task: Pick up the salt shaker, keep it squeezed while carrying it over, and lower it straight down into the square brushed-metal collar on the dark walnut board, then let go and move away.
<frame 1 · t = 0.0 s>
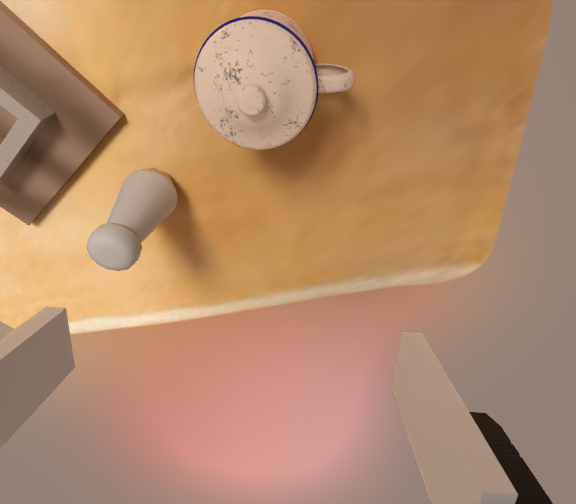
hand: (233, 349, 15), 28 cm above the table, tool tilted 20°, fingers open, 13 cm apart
salt shaker: (157, 184, 42), on the table
teacup with lid: (282, 64, 34), on the table
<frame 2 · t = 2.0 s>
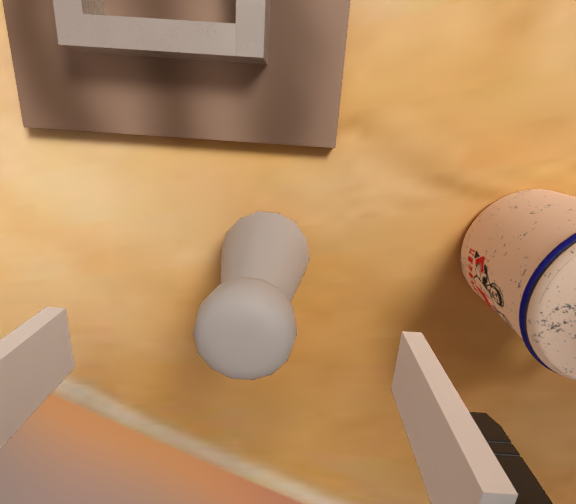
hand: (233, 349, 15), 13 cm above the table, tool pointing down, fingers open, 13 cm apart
salt shaker: (269, 242, 27), on the table
teacup with lid: (530, 261, 27), on the table
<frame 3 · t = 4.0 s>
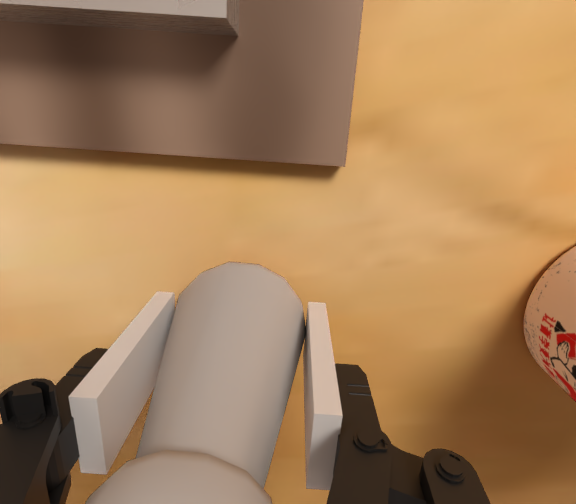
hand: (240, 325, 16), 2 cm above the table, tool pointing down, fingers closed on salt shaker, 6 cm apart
salt shaker: (247, 299, 19), on the table, touching gripper
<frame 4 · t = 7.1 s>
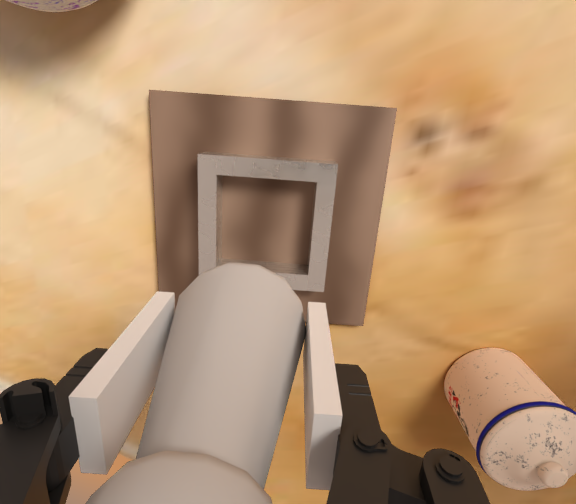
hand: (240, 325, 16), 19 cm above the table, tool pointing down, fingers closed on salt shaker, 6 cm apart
metal collar: (266, 219, 33), resting on walnut board
salt shaker: (247, 299, 19), point 16 cm above the table, touching gripper
teacup with lid: (490, 387, 40), on the table
walnut board: (267, 217, 34), on the table
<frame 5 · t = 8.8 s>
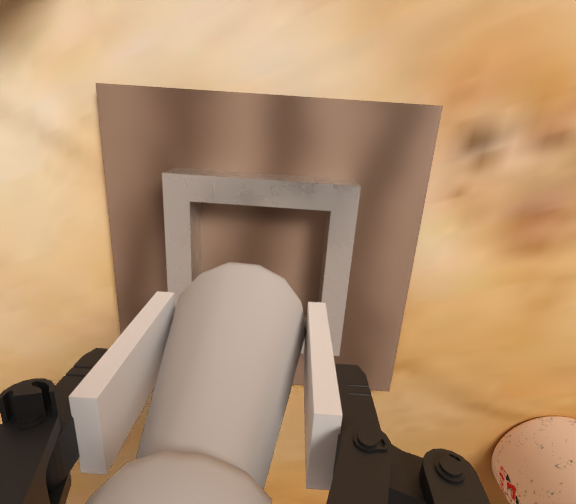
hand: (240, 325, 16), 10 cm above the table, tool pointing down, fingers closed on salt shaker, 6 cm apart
metal collar: (261, 257, 24), resting on walnut board
salt shaker: (247, 299, 19), point 7 cm above the table, touching gripper
teacup with lid: (551, 462, 31), on the table
walnut board: (263, 252, 25), on the table
when the fingers open (5 cm above the table, at t = 10.4 s): salt shaker drops 2 cm, resting on walnut board.
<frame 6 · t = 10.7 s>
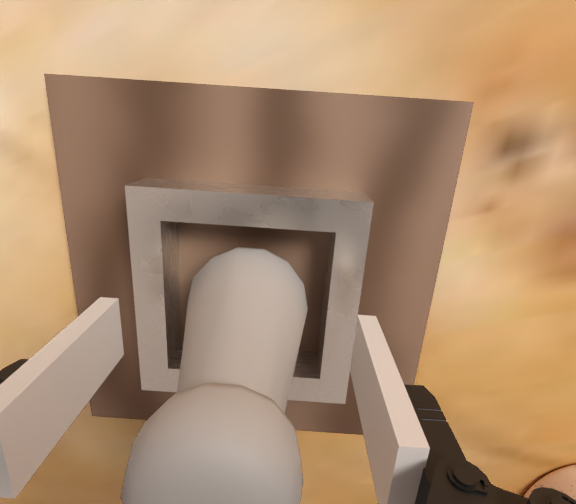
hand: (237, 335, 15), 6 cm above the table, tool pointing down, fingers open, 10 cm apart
metal collar: (251, 284, 20), resting on walnut board
salt shaker: (252, 283, 21), point 1 cm above the table, touching walnut board
walnut board: (253, 277, 21), on the table
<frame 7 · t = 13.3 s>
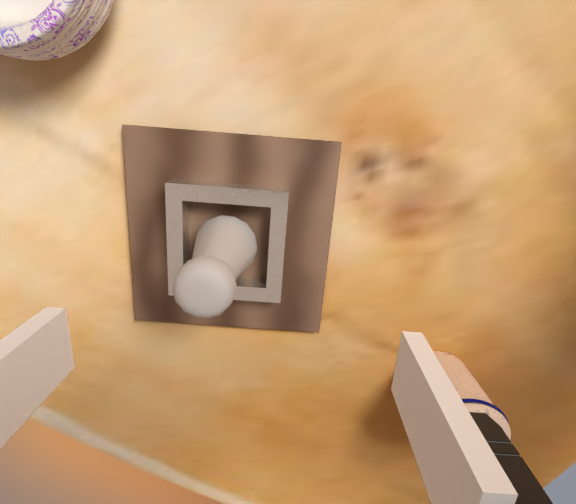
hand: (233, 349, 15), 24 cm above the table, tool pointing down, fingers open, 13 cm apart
metal collar: (229, 238, 37), resting on walnut board
salt shaker: (230, 237, 37), point 1 cm above the table, touching walnut board
teacup with lid: (436, 386, 44), on the table
walnut board: (231, 235, 38), on the table
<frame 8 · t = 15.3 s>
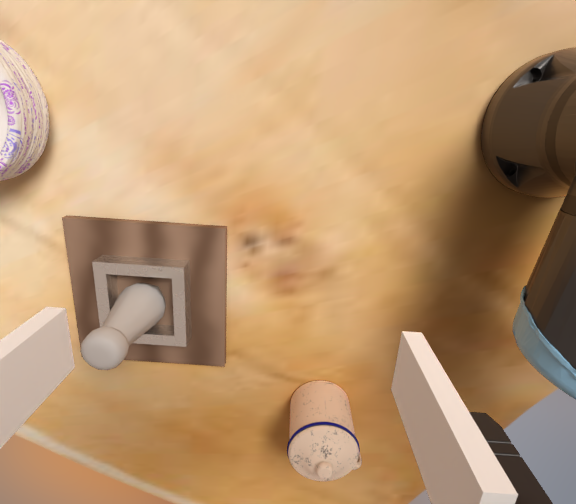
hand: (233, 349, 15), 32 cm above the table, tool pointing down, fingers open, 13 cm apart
metal collar: (148, 297, 48), resting on walnut board
paper bowls: (2, 109, 42), on the table
salt shaker: (149, 296, 48), point 1 cm above the table, touching walnut board
teacup with lid: (326, 407, 55), on the table
walnut board: (151, 293, 49), on the table
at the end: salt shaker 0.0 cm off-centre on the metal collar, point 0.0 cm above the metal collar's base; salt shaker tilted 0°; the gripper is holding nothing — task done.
